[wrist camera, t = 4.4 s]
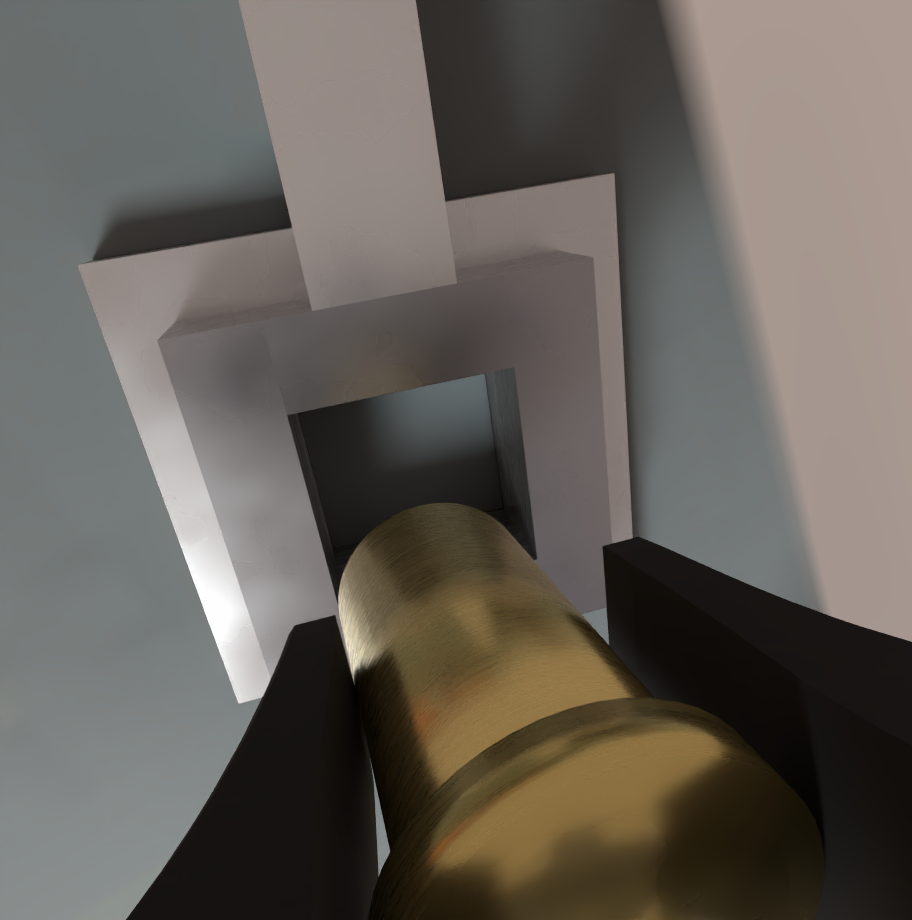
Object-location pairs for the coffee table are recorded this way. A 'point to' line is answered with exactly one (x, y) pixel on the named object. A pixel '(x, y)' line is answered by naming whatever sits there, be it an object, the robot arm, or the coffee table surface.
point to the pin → (546, 752)
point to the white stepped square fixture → (368, 333)
